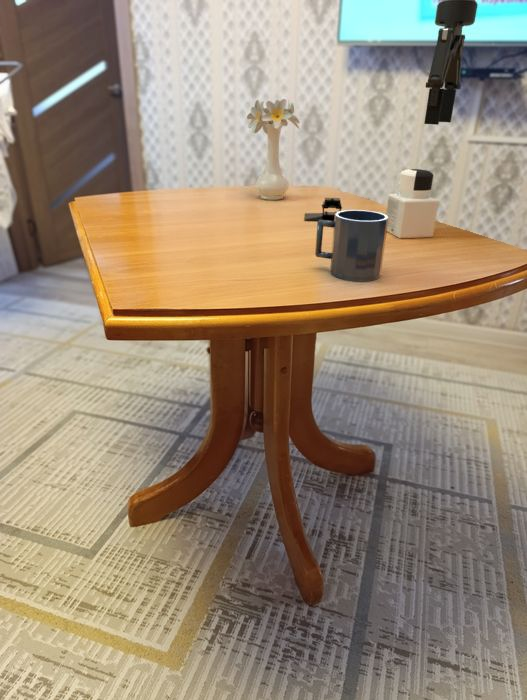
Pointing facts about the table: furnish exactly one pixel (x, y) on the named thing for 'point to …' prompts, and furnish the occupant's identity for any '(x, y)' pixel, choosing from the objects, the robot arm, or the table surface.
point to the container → (412, 206)
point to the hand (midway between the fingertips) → (437, 123)
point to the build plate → (325, 215)
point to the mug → (355, 244)
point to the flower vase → (272, 145)
